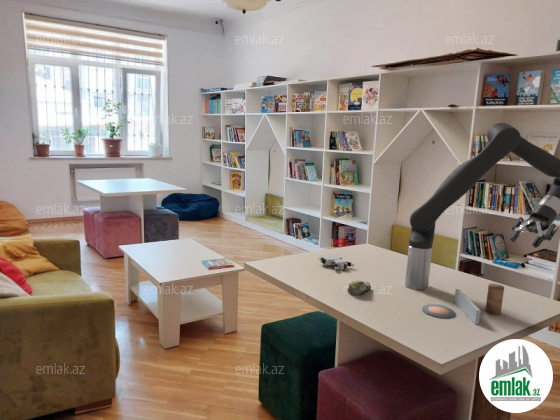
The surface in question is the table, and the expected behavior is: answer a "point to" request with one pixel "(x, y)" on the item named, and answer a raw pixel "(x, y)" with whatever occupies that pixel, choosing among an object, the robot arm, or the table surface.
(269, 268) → the table surface
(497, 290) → the walnut pin
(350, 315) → the table surface
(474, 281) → the table surface
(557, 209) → the robot arm
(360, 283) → the rock
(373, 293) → the table surface
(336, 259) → the robot toy
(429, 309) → the mat
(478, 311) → the acrylic wall
